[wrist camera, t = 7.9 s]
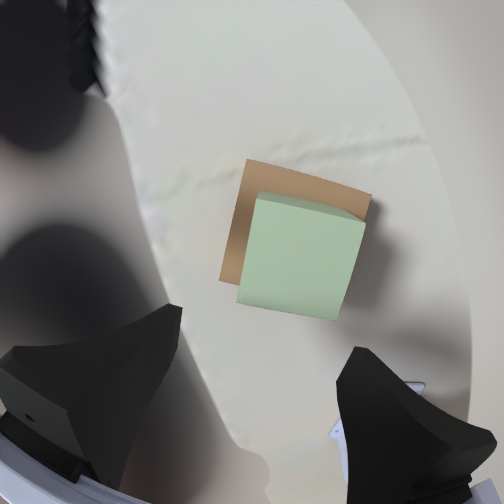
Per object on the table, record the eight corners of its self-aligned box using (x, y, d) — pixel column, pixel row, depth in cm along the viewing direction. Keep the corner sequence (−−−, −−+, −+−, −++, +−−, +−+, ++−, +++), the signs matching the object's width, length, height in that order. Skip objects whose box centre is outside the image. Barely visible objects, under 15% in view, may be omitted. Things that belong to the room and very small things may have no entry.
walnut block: (325, 289, 21) (333, 307, 19) (225, 265, 21) (218, 280, 19) (357, 190, 19) (371, 194, 16) (250, 160, 19) (246, 158, 16)
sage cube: (320, 282, 18) (335, 320, 13) (245, 267, 18) (236, 302, 13) (340, 207, 17) (366, 223, 12) (260, 189, 17) (256, 198, 12)
